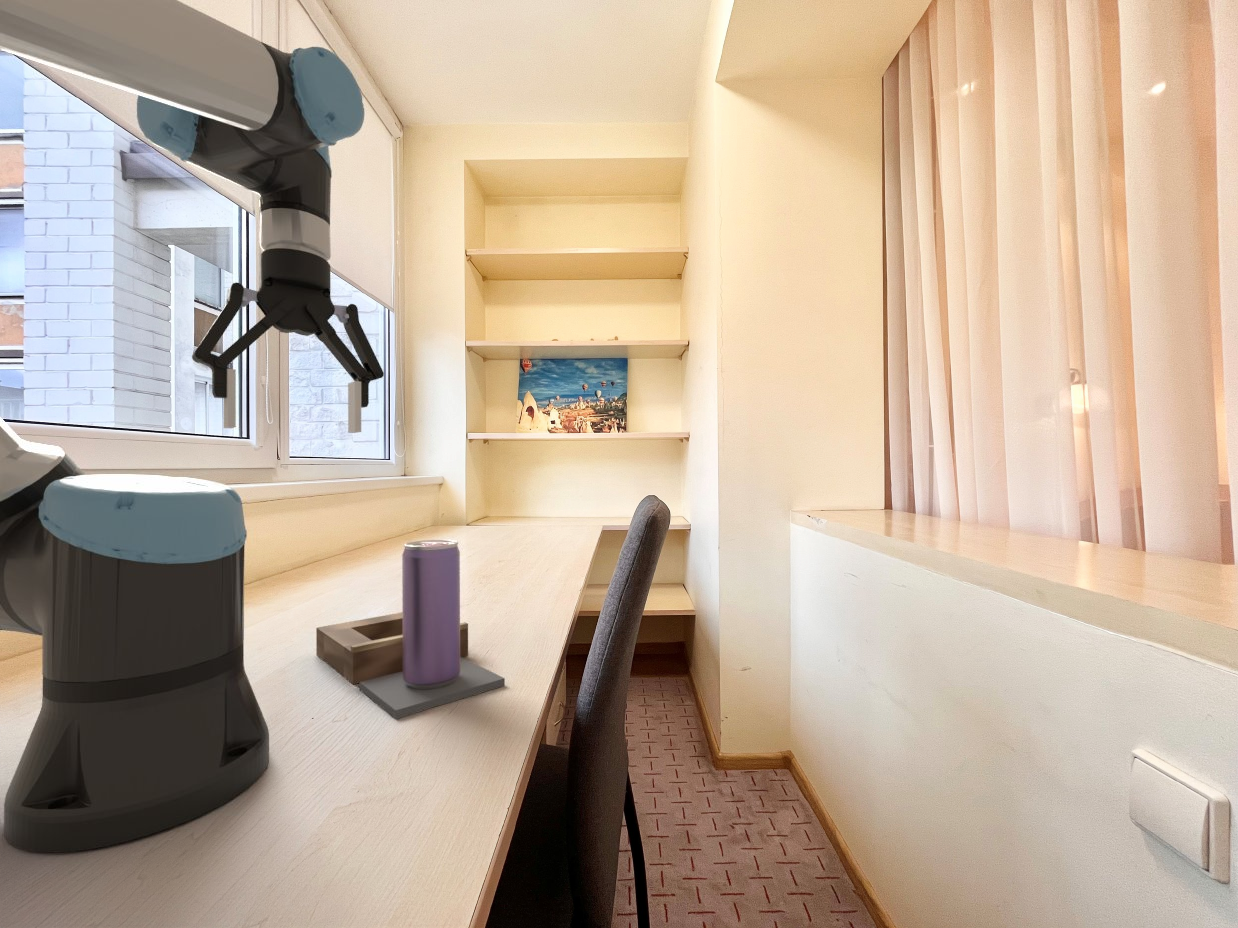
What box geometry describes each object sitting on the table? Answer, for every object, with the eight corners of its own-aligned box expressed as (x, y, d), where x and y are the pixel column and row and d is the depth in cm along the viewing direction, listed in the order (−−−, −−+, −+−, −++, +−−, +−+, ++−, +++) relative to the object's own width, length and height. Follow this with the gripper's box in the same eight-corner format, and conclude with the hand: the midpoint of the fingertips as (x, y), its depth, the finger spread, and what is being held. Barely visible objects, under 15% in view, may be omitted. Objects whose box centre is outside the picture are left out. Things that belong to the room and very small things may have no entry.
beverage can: (450, 691, 59) (449, 546, 59) (393, 690, 59) (392, 546, 59) (467, 670, 65) (466, 539, 65) (415, 670, 65) (414, 539, 65)
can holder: (353, 684, 63) (353, 647, 63) (316, 654, 73) (316, 622, 73) (468, 655, 73) (468, 623, 73) (421, 632, 83) (421, 604, 83)
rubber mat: (395, 718, 54) (395, 710, 54) (359, 689, 62) (359, 681, 62) (504, 685, 62) (504, 678, 63) (461, 663, 70) (461, 656, 70)
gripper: (387, 286, 81) (387, 435, 81) (162, 238, 64) (162, 427, 64) (408, 272, 75) (409, 432, 75) (169, 216, 58) (169, 423, 58)
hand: (296, 430), depth 69 cm, fingers open, 13 cm apart
